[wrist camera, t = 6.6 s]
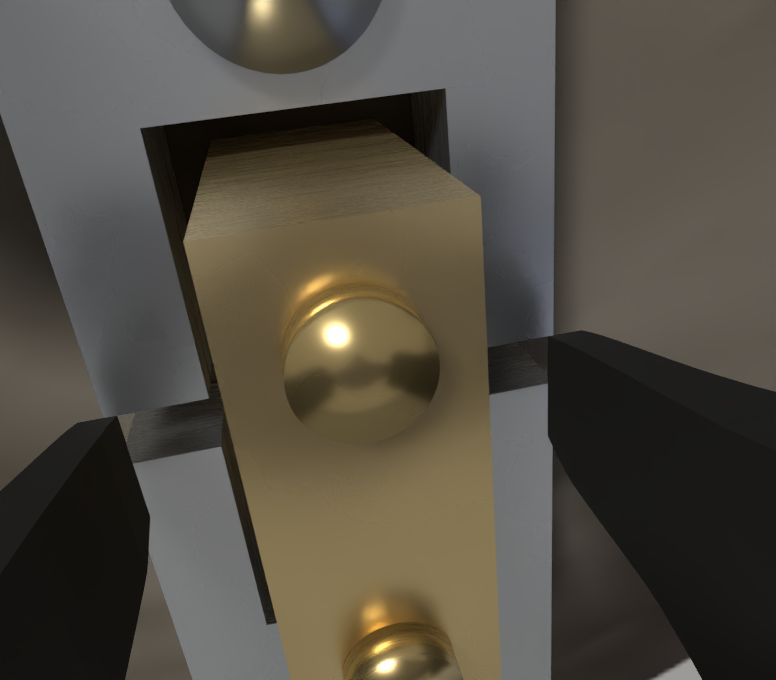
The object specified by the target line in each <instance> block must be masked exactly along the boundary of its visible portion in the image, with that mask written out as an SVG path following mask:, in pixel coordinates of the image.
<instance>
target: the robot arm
mask: <svg viewBox="0 0 776 680" xmlns="http://www.w3.org/2000/svg"><path fill="white" fill-rule="evenodd" d="M548 438H549V440H550V442H551V444H552V446H553V448H554V450H555V452H556V454H557V456H558V458H559V460H560V462H561V463H562V465H563V467H564V469H565V471H566V473H567V474H568V476H569V478H570V480H571V482H572V483H573V485H574V486H575V487H576V489H577V490H578V492H579V493H580V495H581V496H582V497H583V499H584V500H585V502H586V503H587V504H588V506H589V507H590V508H591V510H592V511H593V513H594V514H595V515H596V517H597V518H598V520H599V521H600V522H601V524H602V525H603V526H604V528H605V529H606V530H607V532H608V533H609V535H610V536H611V537H612V539H613V540H614V541H615V543H616V544H617V545H618V547H619V548H620V550H621V551H622V552H623V554H624V555H625V556H626V558H627V559H628V560H629V562H630V563H631V565H632V566H633V567H634V569H635V570H636V571H637V573H638V574H639V575H640V577H641V578H642V580H643V581H644V582H645V584H646V585H647V587H648V588H649V590H650V591H651V593H652V594H653V596H654V597H655V599H656V600H657V602H658V603H659V605H660V606H661V608H662V610H663V612H664V613H665V615H666V617H667V618H668V620H669V622H670V624H671V625H672V627H673V629H674V631H675V632H676V634H677V636H678V637H679V639H680V641H681V643H682V644H683V646H684V648H685V650H686V651H687V653H688V655H689V656H690V658H691V660H692V662H693V663H694V665H695V667H696V669H697V671H698V673H699V674H700V676H701V678H702V680H776V392H774V391H770V390H766V389H762V388H759V387H755V386H751V385H748V384H745V383H741V382H738V381H735V380H731V379H728V378H725V377H721V376H718V375H715V374H712V373H709V372H705V371H702V370H699V369H696V368H693V367H690V366H687V365H685V364H682V363H679V362H676V361H673V360H670V359H667V358H664V357H662V356H659V355H656V354H653V353H651V352H648V351H645V350H642V349H639V348H637V347H634V346H631V345H628V344H625V343H623V342H620V341H617V340H614V339H611V338H608V337H605V336H601V335H598V334H595V333H591V332H587V331H582V330H581V331H576V332H570V333H565V334H559V335H554V336H548ZM149 534H150V514H149V511H148V508H147V505H146V502H145V499H144V496H143V493H142V490H141V487H140V484H139V481H138V478H137V475H136V472H135V469H134V466H133V463H132V460H131V457H130V454H129V451H128V448H127V445H126V442H125V439H124V435H123V432H122V429H121V426H120V423H119V420H118V417H117V416H113V417H107V418H102V419H96V420H91V421H85V422H80V423H77V424H75V425H74V426H73V427H71V428H70V429H69V430H67V431H66V432H65V433H64V434H63V435H61V436H60V437H59V438H58V439H57V440H56V441H55V442H54V443H52V444H51V445H50V446H49V447H48V448H47V449H46V450H45V451H44V452H43V453H41V454H40V455H39V456H38V457H37V458H36V459H35V460H34V461H33V462H32V463H31V464H30V465H28V466H27V467H26V468H25V469H24V470H23V471H22V472H21V473H20V474H19V475H18V476H16V477H15V478H14V479H13V480H12V481H11V482H10V483H9V484H8V485H7V486H5V487H4V488H3V489H2V490H1V491H0V680H125V677H126V672H127V668H128V663H129V658H130V653H131V649H132V644H133V639H134V634H135V630H136V625H137V620H138V615H139V610H140V605H141V600H142V596H143V591H144V586H145V580H146V575H147V566H148V552H149Z"/></svg>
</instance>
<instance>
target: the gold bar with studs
mask: <svg viewBox="0 0 776 680" xmlns="http://www.w3.org/2000/svg"><path fill="white" fill-rule="evenodd" d="M184 246H185V251H186V255H187V259H188V263H189V267H190V271H191V275H192V279H193V283H194V287H195V291H196V295H197V299H198V303H199V308H200V312H201V316H202V320H203V324H204V328H205V332H206V336H207V340H208V344H209V348H210V352H211V356H212V361H213V365H214V369H215V373H216V377H217V381H218V385H219V389H220V393H221V397H222V401H223V405H224V409H225V413H226V418H227V422H228V426H229V430H230V434H231V438H232V442H233V446H234V450H235V454H236V458H237V462H238V466H239V470H240V475H241V479H242V483H243V487H244V491H245V495H246V499H247V503H248V507H249V511H250V515H251V519H252V523H253V527H254V532H255V536H256V540H257V544H258V548H259V552H260V556H261V560H262V564H263V568H264V572H265V576H266V580H267V584H268V589H269V593H270V597H271V601H272V605H273V609H274V613H275V617H276V621H277V625H278V629H279V633H280V637H281V641H282V646H283V650H284V654H285V658H286V662H287V666H288V670H289V674H290V678H291V680H501V660H500V636H499V613H498V589H497V566H496V542H495V519H494V495H493V472H492V448H491V425H490V401H489V378H488V354H487V331H486V307H485V284H484V260H483V237H482V213H481V196H480V195H478V194H477V193H476V192H474V191H473V190H472V189H470V188H469V187H467V186H466V185H465V184H463V183H462V182H460V181H459V180H458V179H456V178H455V177H454V176H452V175H451V174H449V173H448V172H447V171H445V170H444V169H442V168H441V167H440V166H438V165H437V164H436V163H434V162H433V161H431V160H430V159H429V158H427V157H426V156H425V155H423V154H422V153H420V152H419V151H418V150H416V149H415V148H413V147H412V146H411V145H409V144H408V143H407V142H405V141H404V140H402V139H401V138H400V137H398V136H397V135H395V134H394V133H393V132H391V131H390V130H389V129H387V128H386V127H384V126H383V125H382V124H380V123H379V122H378V121H376V120H375V119H373V118H372V119H364V120H357V121H349V122H342V123H335V124H327V125H320V126H313V127H305V128H298V129H290V130H283V131H276V132H268V133H261V134H253V135H246V136H239V137H231V138H224V139H217V140H211V143H210V146H209V150H208V154H207V157H206V161H205V165H204V168H203V172H202V176H201V179H200V183H199V187H198V190H197V194H196V198H195V201H194V205H193V209H192V212H191V216H190V220H189V223H188V227H187V231H186V234H185V238H184Z"/></svg>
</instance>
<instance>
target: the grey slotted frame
mask: <svg viewBox="0 0 776 680" xmlns="http://www.w3.org/2000/svg"><path fill="white" fill-rule="evenodd" d="M555 22H556V0H0V114H1V117H2V120H3V123H4V126H5V129H6V132H7V135H8V138H9V141H10V144H11V147H12V150H13V153H14V156H15V159H16V161H17V164H18V167H19V170H20V173H21V176H22V179H23V182H24V185H25V188H26V191H27V194H28V197H29V200H30V203H31V206H32V208H33V211H34V214H35V217H36V220H37V223H38V226H39V229H40V232H41V235H42V238H43V241H44V244H45V247H46V250H47V253H48V256H49V258H50V261H51V264H52V267H53V270H54V273H55V276H56V279H57V282H58V285H59V288H60V291H61V294H62V297H63V300H64V303H65V306H66V308H67V311H68V314H69V317H70V320H71V323H72V326H73V329H74V332H75V335H76V338H77V341H78V344H79V347H80V350H81V353H82V355H83V358H84V361H85V364H86V367H87V370H88V373H89V376H90V379H91V382H92V385H93V388H94V391H95V394H96V397H97V400H98V403H99V405H100V408H101V411H102V414H103V417H104V418H106V417H112V416H117V415H122V414H128V413H133V412H135V414H134V418H133V421H132V425H131V428H130V432H129V436H128V439H127V443H126V445H127V448H128V451H129V454H130V457H131V460H132V463H133V466H134V469H135V472H136V475H137V478H138V481H139V484H140V487H141V490H142V493H143V496H144V499H145V502H146V505H147V508H148V511H149V514H150V534H149V552H150V555H151V558H152V561H153V564H154V567H155V570H156V573H157V576H158V579H159V582H160V585H161V588H162V591H163V594H164V597H165V599H166V602H167V605H168V608H169V611H170V614H171V617H172V620H173V623H174V626H175V629H176V632H177V635H178V638H179V641H180V644H181V647H182V649H183V652H184V655H185V658H186V661H187V664H188V667H189V670H190V673H191V676H192V679H193V680H291V678H290V674H289V670H288V666H287V662H286V658H285V654H284V650H283V646H282V641H281V637H280V633H279V629H278V625H277V621H276V617H275V613H274V609H273V605H272V601H271V597H270V593H269V589H268V584H267V580H266V576H265V572H264V568H263V564H262V560H261V556H260V552H259V548H258V544H257V540H256V536H255V532H254V527H253V523H252V519H251V515H250V511H249V507H248V503H247V499H246V495H245V491H244V487H243V483H242V479H241V475H240V470H239V466H238V462H237V458H236V454H235V450H234V446H233V442H232V438H231V434H230V430H229V426H228V422H227V418H226V413H225V409H224V405H223V401H222V397H221V393H220V389H219V385H218V382H214V383H210V381H211V369H212V356H211V352H210V348H209V344H208V340H207V336H206V332H205V328H204V324H203V320H202V316H201V312H200V308H199V303H198V299H197V295H196V291H195V287H194V283H193V279H192V275H191V271H190V267H189V263H188V259H187V255H186V251H185V246H184V238H185V234H186V231H187V223H186V218H185V214H184V210H183V206H182V202H181V198H180V193H179V189H178V185H177V181H176V177H175V173H174V168H173V164H172V160H171V156H170V152H169V148H168V143H167V139H166V135H165V131H164V127H163V125H169V124H177V123H184V122H192V121H199V120H207V119H215V118H222V117H230V116H238V115H245V114H253V113H260V112H268V111H276V110H283V109H291V108H299V107H306V106H314V105H322V104H329V103H337V102H344V101H352V100H360V99H367V98H375V97H383V96H390V95H398V94H405V93H411V105H412V118H413V130H414V142H415V149H416V150H418V151H419V152H420V153H422V154H423V155H425V156H426V157H427V158H429V159H430V160H431V161H433V162H434V163H436V164H437V165H438V166H440V167H441V168H442V169H444V170H445V171H447V172H448V173H449V174H451V175H452V176H454V177H455V178H456V179H458V180H459V181H460V182H462V183H463V184H465V185H466V186H467V187H469V188H470V189H472V190H473V191H474V192H476V193H477V194H478V195H480V196H481V213H482V237H483V260H484V284H485V307H486V331H487V354H488V378H489V401H490V425H491V448H492V472H493V495H494V519H495V542H496V566H497V589H498V613H499V636H500V660H501V680H551V599H552V455H553V446H552V444H551V442H550V440H549V438H548V376H547V375H546V374H545V373H544V372H543V370H542V369H541V368H540V367H539V366H538V365H537V363H536V362H535V361H534V360H533V359H532V358H531V356H530V355H529V354H528V353H527V352H526V351H525V350H524V348H523V347H522V346H521V345H520V344H519V343H518V342H520V341H525V340H531V339H536V338H542V337H547V336H553V311H554V167H555Z"/></svg>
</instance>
